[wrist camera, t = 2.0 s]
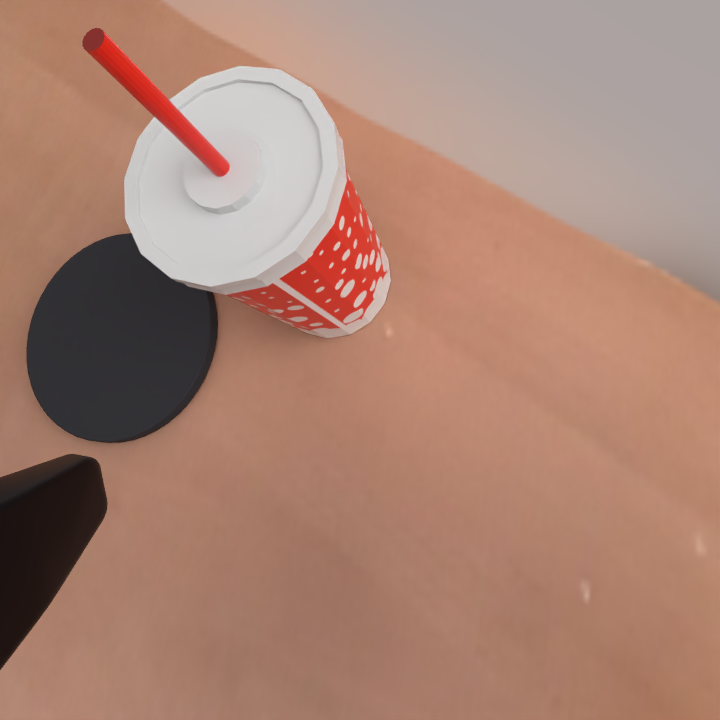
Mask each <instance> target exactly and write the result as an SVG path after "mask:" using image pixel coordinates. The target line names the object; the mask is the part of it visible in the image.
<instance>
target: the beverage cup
mask: <svg viewBox="0 0 720 720" xmlns="http://www.w3.org/2000/svg"><path fill="white" fill-rule="evenodd" d="M83 47H84V49H85V50H86V51H87V52H88V53H89V54H90V55H91V56H92V57H93V58H94V59H95V60H96V61H97V62H98V63H99V64H100V65H101V66H103V67H104V68H105V69H106V70H107V71H108V72H109V73H110V74H111V75H112V76H113V77H114V78H115V79H116V80H117V81H118V82H119V83H120V84H121V85H122V86H123V87H124V88H125V89H126V90H127V91H128V92H129V93H130V94H132V95H133V96H134V97H135V98H136V99H137V100H138V101H139V102H140V103H141V104H142V105H143V106H144V107H145V108H146V109H147V110H148V111H149V112H150V113H151V114H152V115H153V116H154V118H153V119H152V121H151V122H150V123H149V125H148V126H147V127H146V129H145V130H144V131H143V133H142V134H141V135H140V137H139V138H138V140H137V143H136V146H135V149H134V152H133V155H132V158H131V161H130V164H129V167H128V169H127V172H126V175H125V178H124V186H125V220H126V222H127V224H128V226H129V229H130V231H131V233H132V235H133V237H134V240H135V242H136V244H137V246H138V248H139V250H140V253H141V254H142V255H143V256H144V257H145V258H147V259H148V260H149V261H150V262H152V263H153V264H154V265H155V266H157V267H158V268H159V269H160V270H161V271H163V272H164V273H165V274H166V275H168V276H169V277H170V278H172V279H173V280H175V281H177V282H182V283H184V284H185V285H187V286H188V287H192V288H197V289H202V290H206V291H211V292H215V293H220V294H224V295H228V296H230V297H232V298H234V299H236V300H238V301H240V302H242V303H245V304H247V305H249V306H251V307H253V308H255V309H257V310H259V311H261V312H263V313H266V314H268V315H270V316H272V317H274V318H276V319H278V320H280V321H282V322H284V323H287V324H289V325H291V326H293V327H295V328H297V329H299V330H301V331H303V332H305V333H307V334H311V335H316V336H320V337H324V338H334V337H340V336H345V335H351V334H352V333H354V332H356V331H357V330H359V329H360V328H362V327H364V326H365V325H367V324H368V323H370V322H371V321H372V320H373V318H374V317H375V316H376V314H377V313H378V312H379V310H380V309H381V308H382V306H383V305H384V304H385V301H386V297H387V293H388V290H389V286H390V283H391V278H390V270H389V262H388V258H387V256H386V254H385V251H384V249H383V247H382V245H381V243H380V241H379V239H378V237H377V234H376V232H375V230H374V228H373V226H372V224H371V222H370V220H369V217H368V215H367V213H366V211H365V209H364V207H363V205H362V203H361V200H360V198H359V196H358V194H357V192H356V190H355V188H354V186H353V183H352V181H351V179H350V177H349V175H348V173H347V171H346V169H345V160H344V151H343V142H342V139H341V137H340V135H339V134H338V131H337V127H336V125H335V124H334V122H333V120H332V119H331V117H330V116H329V114H328V112H327V111H326V109H325V108H324V106H323V104H322V103H321V101H320V100H319V98H318V96H317V95H316V93H315V92H314V90H313V89H312V88H310V87H309V86H307V85H305V84H304V83H302V82H300V81H299V80H297V79H295V78H293V77H292V76H290V75H288V74H287V73H285V72H283V71H281V70H280V69H270V68H259V67H247V66H238V67H234V68H231V69H228V70H225V71H221V72H218V73H215V74H211V75H208V76H205V77H201V78H199V79H198V80H196V81H195V82H193V83H192V84H191V85H189V86H188V87H186V88H185V89H184V90H182V91H181V92H179V93H178V94H177V95H175V96H174V97H173V98H171V99H170V100H169V99H168V98H167V97H166V96H165V95H164V94H163V93H162V92H161V91H160V90H159V89H158V88H157V87H156V86H155V85H154V84H153V83H152V82H151V81H150V79H149V78H148V77H147V76H146V75H145V74H144V73H143V72H142V71H141V70H140V69H139V68H138V67H137V66H136V65H135V64H134V63H133V62H132V61H131V60H130V59H129V57H128V56H127V55H126V54H125V53H124V52H123V51H122V50H121V49H120V48H119V47H118V46H117V45H116V44H115V43H114V42H113V41H112V40H111V39H110V38H109V37H108V35H107V34H106V33H105V32H104V31H103V30H101V29H100V28H95V29H92V30H90V31H89V32H87V34H86V35H85V36H84V39H83Z"/></svg>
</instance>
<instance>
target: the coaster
mask: <svg viewBox="0 0 720 720" xmlns="http://www.w3.org/2000/svg"><path fill="white" fill-rule="evenodd" d="M216 338H217V312H216V306H215V301H214V296H213V293H212V292H211V291H206V290H202V289H197V288H192V287H188V286H187V285H185V284H184V283H182V282H177V281H175V280H173V279H172V278H170V277H169V276H168V275H166V274H165V273H164V272H163V271H161V270H160V269H159V268H158V267H157V266H155V265H154V264H153V263H152V262H150V261H149V260H148V259H147V258H145V257H144V256H143V255H142V254H141V253H140V250H139V248H138V246H137V244H136V242H135V240H134V237H133V235H132V234H131V233H129V234H121V235H115V236H111V237H108V238H104V239H102V240H100V241H97V242H95V243H93V244H91V245H89V246H87V247H86V248H84V249H82V250H81V251H80V252H78V253H77V254H75V255H74V256H73V257H72V258H71V259H69V260H68V261H67V262H66V263H65V264H64V265H63V266H62V267H61V268H60V269H59V271H58V272H57V273H56V274H55V275H54V277H53V278H52V279H51V281H50V282H49V283H48V285H47V287H46V288H45V290H44V292H43V293H42V295H41V297H40V299H39V301H38V304H37V306H36V308H35V311H34V314H33V317H32V320H31V324H30V328H29V333H28V340H27V367H28V374H29V378H30V382H31V386H32V389H33V391H34V394H35V396H36V398H37V400H38V402H39V404H40V406H41V407H42V408H43V410H44V411H45V412H46V414H47V415H48V416H49V417H50V418H51V419H52V420H53V421H54V422H55V423H56V424H57V425H58V426H60V427H61V428H62V429H64V430H65V431H67V432H69V433H71V434H73V435H75V436H77V437H80V438H83V439H86V440H91V441H98V442H107V443H112V442H125V441H130V440H134V439H137V438H140V437H144V436H146V435H148V434H150V433H152V432H154V431H156V430H158V429H159V428H161V427H162V426H164V425H165V424H167V423H169V422H170V421H171V420H172V419H173V418H174V417H176V416H177V415H178V414H179V413H180V412H181V411H182V410H183V409H184V408H185V407H186V405H187V404H188V403H189V402H190V401H191V399H192V398H193V397H194V395H195V394H196V392H197V391H198V389H199V387H200V386H201V384H202V382H203V380H204V379H205V376H206V374H207V371H208V369H209V367H210V364H211V361H212V357H213V354H214V350H215V344H216Z"/></svg>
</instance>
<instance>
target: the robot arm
mask: <svg viewBox="0 0 720 720" xmlns="http://www.w3.org/2000/svg"><path fill="white" fill-rule="evenodd" d="M106 511H107V497H106V492H105V487H104V483H103V478H102V473H101V468H100V465H99V463H98V462H97V460H96V459H94V458H92V457H87V456H81V455H76V454H68V455H65V456H62V457H59V458H56V459H53V460H50V461H47V462H44V463H41V464H38V465H35V466H33V467H30V468H27V469H24V470H21V471H18V472H15V473H12V474H9V475H6V476H3V477H0V670H1V669H2V667H3V666H4V665H5V663H6V662H7V661H8V659H9V658H10V657H11V655H12V654H13V653H14V652H15V650H16V649H17V648H18V646H19V645H20V644H21V642H22V641H23V640H24V638H25V637H26V636H27V634H28V633H29V632H30V631H31V629H32V628H33V627H34V625H35V624H36V623H37V621H38V620H39V619H40V617H41V616H42V614H43V613H44V612H45V610H46V609H47V608H48V606H49V605H50V603H51V602H52V600H53V599H54V597H55V596H56V594H57V593H58V591H59V589H60V588H61V586H62V585H63V583H64V581H65V580H66V578H67V577H68V575H69V573H70V572H71V570H72V569H73V567H74V565H75V564H76V562H77V561H78V559H79V557H80V556H81V554H82V553H83V551H84V549H85V548H86V546H87V545H88V543H89V541H90V540H91V538H92V537H93V535H94V534H95V532H96V530H97V529H98V527H99V526H100V524H101V522H102V521H103V519H104V517H105V514H106Z"/></svg>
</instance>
